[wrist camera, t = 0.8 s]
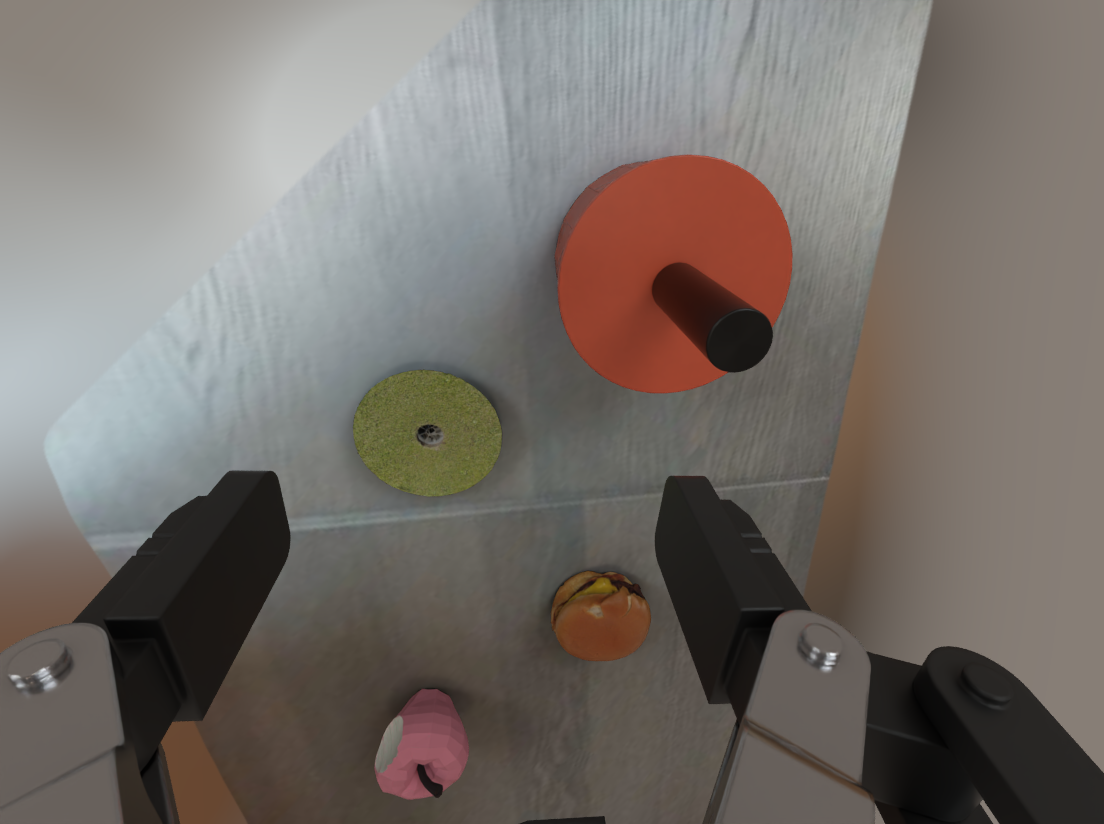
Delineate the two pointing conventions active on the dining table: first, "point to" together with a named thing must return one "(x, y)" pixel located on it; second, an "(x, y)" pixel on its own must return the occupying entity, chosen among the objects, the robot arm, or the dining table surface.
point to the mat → (427, 433)
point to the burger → (600, 616)
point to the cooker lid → (675, 274)
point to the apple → (422, 748)
